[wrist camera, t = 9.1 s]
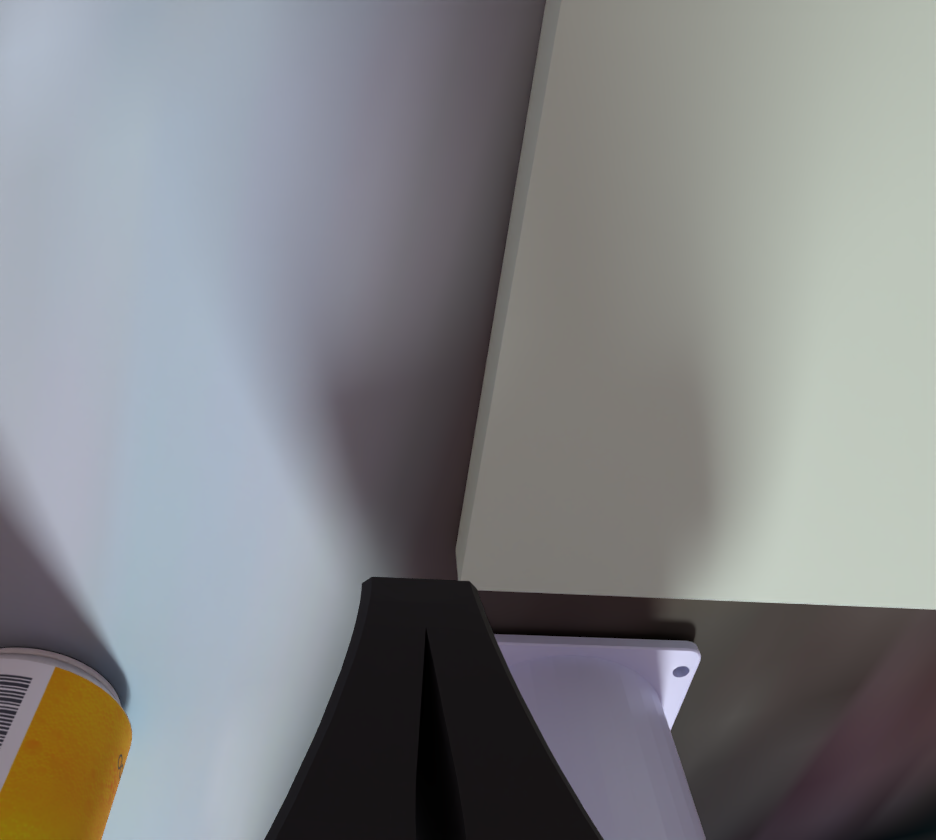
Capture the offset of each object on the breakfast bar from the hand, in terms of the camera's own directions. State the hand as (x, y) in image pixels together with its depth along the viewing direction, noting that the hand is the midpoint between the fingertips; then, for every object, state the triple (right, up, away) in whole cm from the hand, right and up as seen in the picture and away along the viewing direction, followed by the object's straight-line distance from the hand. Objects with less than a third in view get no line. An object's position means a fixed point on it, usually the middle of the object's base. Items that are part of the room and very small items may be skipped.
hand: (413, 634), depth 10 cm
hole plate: (+13, +5, +9) cm, 17 cm away
